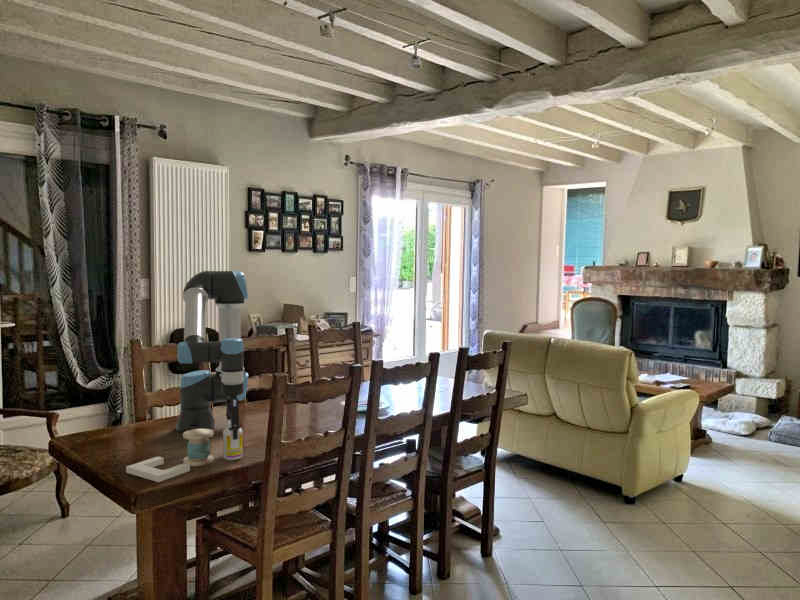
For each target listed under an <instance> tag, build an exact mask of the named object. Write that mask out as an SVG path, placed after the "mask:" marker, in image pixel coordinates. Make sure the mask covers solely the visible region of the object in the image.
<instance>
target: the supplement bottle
mask: <svg viewBox="0 0 800 600" xmlns="http://www.w3.org/2000/svg"><path fill="white" fill-rule="evenodd" d="M239 425H240V421H239ZM234 426H237V425H234ZM240 426H241V425H240ZM225 427H226V428H224V430H223V431H222V456H223V457H222V458H223V459H224V460H226V461H235V460H240V459H242V458H243V456H244V452H243V451H244V450H243V446H244V445H243V439H244V438H243V429H242V428H241V427H240V429H239V448H236V449H231V430H229V428H231V420H229V421H227V420H226V421H225Z"/></svg>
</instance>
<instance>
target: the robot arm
mask: <svg viewBox="0 0 800 600" xmlns="http://www.w3.org/2000/svg"><path fill="white" fill-rule="evenodd" d="M248 297H249V295H248V288H247V281H246V277H245V273H244V272H242V271H238V270H205V271H200V272H198V273H196V274H195V275H194V276H192V277H191V278H190V279H189V280H188V281H187V282H186V284H185V285H184V288H183V291H182V300H183V302H184V324H183V325H184V328H183V342H182V341H181V342H178V343H177V351H176V352H177V361H178V362H179V364H203V363H218V364H219V365H218V367H216V368H215V373H211V371H210V370H208V369H203V370H202V369H201V370H200V369H199V370H196V371H195V370H193V371H190V372H187V373H184V374H183V375H181V377H180V381H179V382H180V383H179V385H180V386H179V389H180V390H179V392H180V405H179V406H180V409H179V410H180V412H179V415H178V418H177V421H176V423H175V425H176V426H175V427H176V428H175V431H177V432H179V433H182V434H183V433H184V432H186V431H188V430H193V429H211V430H213V429H215V428H216V421H215V419H214V414H213V412H212V409H211V403H219V402H220V403H221V402H223V403H224V402H226V403H225V404H226V413H225V416H226V421H229V420H231V428H229V430H231V449H236V448H239V429H240V428H241V425H239V422H240V412H239V410H240V408H239V407H240V406H239V404H240V401H243V400H244V399H245V398H246V395H247V391H248V385H249V384H248V382H249V373H248V372H247V371H245V367H244V349H245V347H244V341H243V339H242V338H241V337H242V336H241V334H242V333H241V330H242V329H241V328H242V327H241V323H242V322H241V308H242V307H243V306H244V304H245V300H248ZM209 300H214V304H215V306H217V307H218V330H219V331H218V341H207V340H206V338H207V337H206V335H207V333H206V328H207V327H206V326H207V325H206V323H207V321H206V318H207V317H206V316H207V315H206V312H207V311H206V310H207V309H206V305H207V302H208V301H209ZM234 425H237V426H234Z"/></svg>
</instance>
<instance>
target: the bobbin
mask: <svg viewBox="0 0 800 600" xmlns="http://www.w3.org/2000/svg"><path fill="white" fill-rule="evenodd" d="M214 436H215V435H214V430H213V429H212V430H211V429H193V430H188V431H186V432H184V433H182V438H183V439H185V440H188V441H187V447H186V448H187V456H186V457H184V458H183V461H182V464H183V463H185V464H188V465H190V467H203V466H207V465H209V464H212V463H213V462H214V461H215V457H214V455H212V454H211V453H210V451H211V449H210V444H211V443H210V439H209V438H212V437H214Z"/></svg>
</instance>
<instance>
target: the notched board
mask: <svg viewBox="0 0 800 600" xmlns="http://www.w3.org/2000/svg"><path fill="white" fill-rule="evenodd" d="M164 462H165V460H164V457H161V456H154V457H151V458H149V459H145V460H142V461H139V462H136V463H133V464H129V465H127V466H126V467H125V472H126V473H127V474H130V475H133V476H137V477H140V478H144V479H146V480H151V481H153V482H156V483H160V482H164V481H166V480H168V479H171V478H174V477H177V476H180V475H183V474H186V473H187V472H191V466H190V465H188V464H185V463H183V462H182V463H180V464H177V465H175V466H172V467H169V468H165V469H160V468H155V467H157V466H161V465H164Z"/></svg>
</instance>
